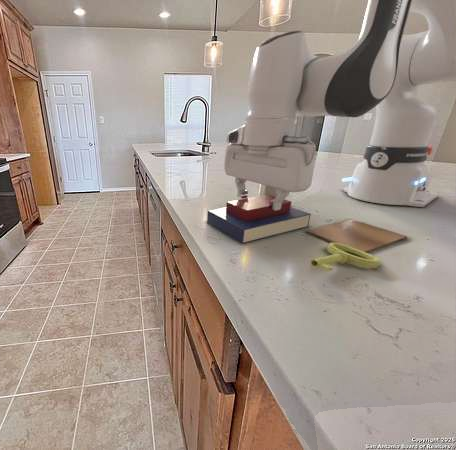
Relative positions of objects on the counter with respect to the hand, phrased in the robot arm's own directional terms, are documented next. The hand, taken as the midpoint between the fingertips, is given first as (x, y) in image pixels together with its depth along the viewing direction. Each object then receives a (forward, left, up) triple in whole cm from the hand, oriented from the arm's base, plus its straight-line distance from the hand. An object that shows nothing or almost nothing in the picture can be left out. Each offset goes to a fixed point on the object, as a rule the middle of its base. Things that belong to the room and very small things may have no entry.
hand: (257, 202), depth 53 cm
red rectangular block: (0, 0, -2) cm, 2 cm away
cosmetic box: (-14, -10, -5) cm, 18 cm away
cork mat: (-13, +13, -5) cm, 19 cm away
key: (-1, +18, -5) cm, 19 cm away
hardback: (0, 0, -5) cm, 5 cm away
